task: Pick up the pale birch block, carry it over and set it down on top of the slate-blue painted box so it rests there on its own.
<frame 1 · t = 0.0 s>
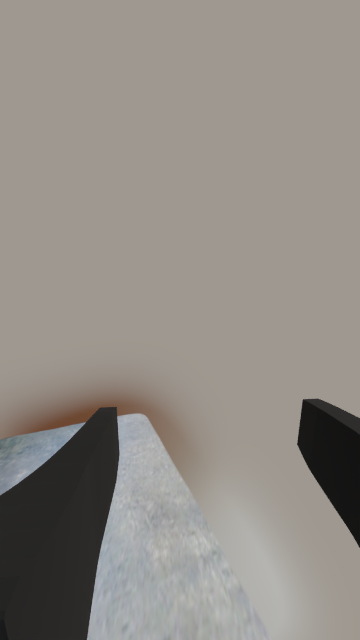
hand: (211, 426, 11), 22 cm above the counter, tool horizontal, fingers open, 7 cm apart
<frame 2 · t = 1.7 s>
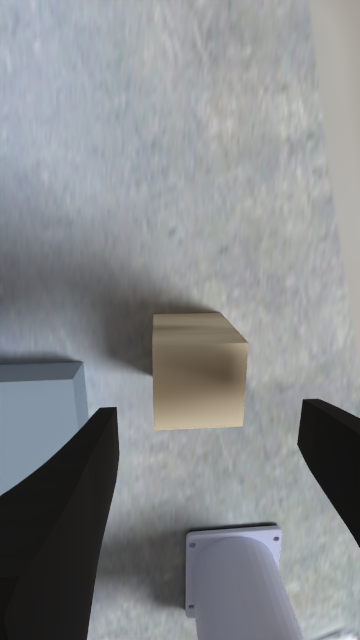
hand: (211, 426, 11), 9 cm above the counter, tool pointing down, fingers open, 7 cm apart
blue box: (19, 426, 21), on the counter
birch block: (187, 345, 20), on the counter
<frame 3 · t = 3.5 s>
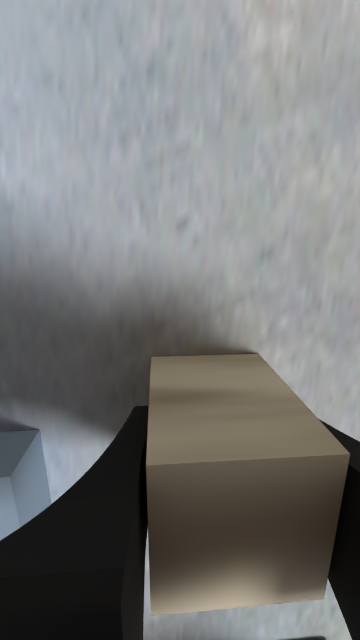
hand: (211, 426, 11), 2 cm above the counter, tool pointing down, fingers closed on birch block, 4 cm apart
birch block: (204, 403, 13), on the counter, touching gripper
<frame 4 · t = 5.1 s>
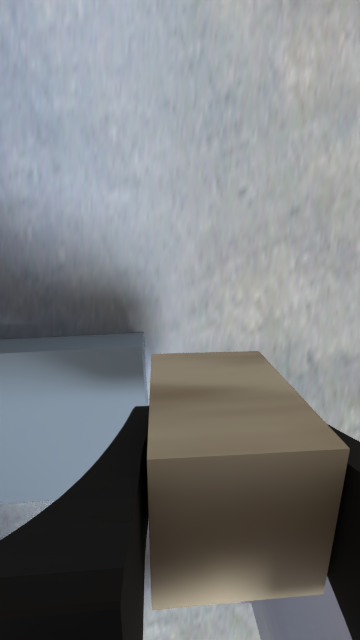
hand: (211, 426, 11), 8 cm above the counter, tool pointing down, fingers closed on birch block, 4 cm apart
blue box: (75, 403, 20), on the counter
birch block: (204, 400, 13), point 7 cm above the counter, touching gripper
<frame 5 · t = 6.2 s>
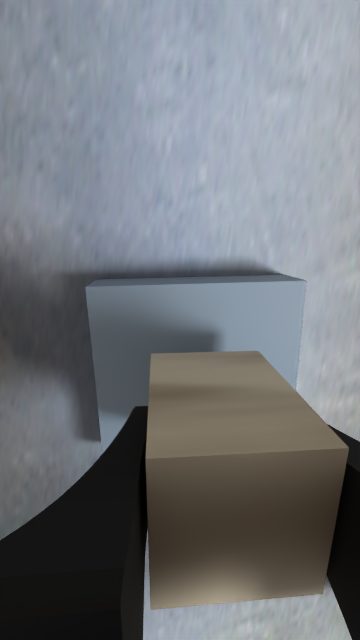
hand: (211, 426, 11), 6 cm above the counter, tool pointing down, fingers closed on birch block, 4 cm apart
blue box: (191, 360, 17), on the counter
birch block: (204, 400, 13), point 4 cm above the counter, touching gripper
when the fingers open (6 cm above the counter, at t = 7.1 s): birch block drops 2 cm, resting on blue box.
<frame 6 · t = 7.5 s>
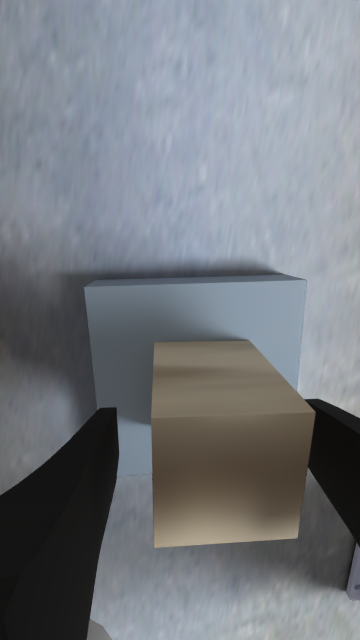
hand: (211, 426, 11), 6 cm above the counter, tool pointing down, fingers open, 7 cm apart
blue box: (191, 361, 17), on the counter, touching birch block
birch block: (201, 384, 14), point 2 cm above the counter, touching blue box
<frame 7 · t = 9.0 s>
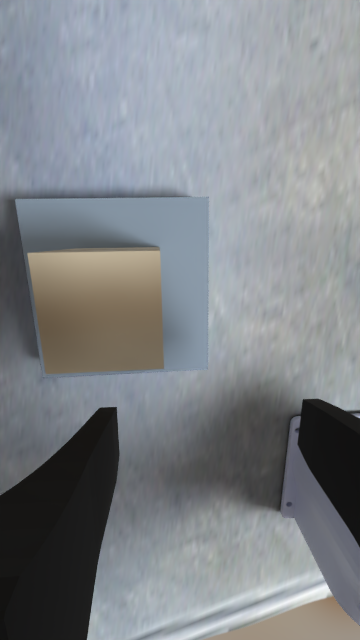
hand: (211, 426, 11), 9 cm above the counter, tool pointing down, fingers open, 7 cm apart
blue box: (126, 285, 19), on the counter, touching birch block
birch block: (120, 288, 16), point 2 cm above the counter, touching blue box
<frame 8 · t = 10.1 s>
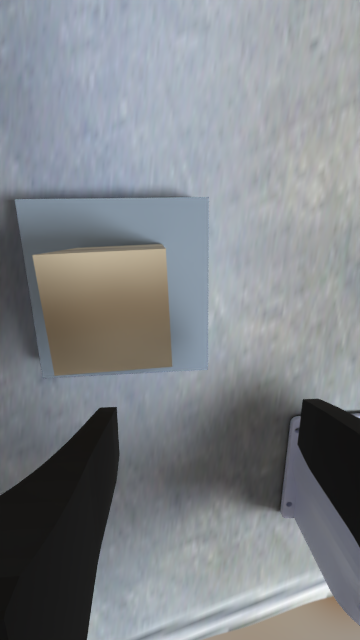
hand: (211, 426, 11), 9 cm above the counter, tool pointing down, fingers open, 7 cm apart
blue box: (126, 285, 19), on the counter
birch block: (124, 286, 16), point 2 cm above the counter
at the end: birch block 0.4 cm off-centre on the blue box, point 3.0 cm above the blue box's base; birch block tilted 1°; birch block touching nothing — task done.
